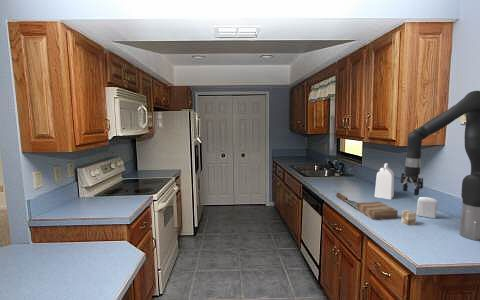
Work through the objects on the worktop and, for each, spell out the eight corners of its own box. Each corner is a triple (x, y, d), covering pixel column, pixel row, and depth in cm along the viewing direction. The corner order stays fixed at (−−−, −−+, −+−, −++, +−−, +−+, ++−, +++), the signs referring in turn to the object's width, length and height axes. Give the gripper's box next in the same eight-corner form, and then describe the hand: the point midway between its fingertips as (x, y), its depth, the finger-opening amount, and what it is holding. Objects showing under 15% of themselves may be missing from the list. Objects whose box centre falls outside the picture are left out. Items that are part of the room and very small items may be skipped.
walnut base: (397, 218, 171) (397, 210, 170) (373, 219, 169) (373, 211, 168) (378, 208, 189) (378, 201, 188) (356, 209, 186) (357, 202, 186)
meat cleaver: (372, 210, 186) (372, 205, 185) (356, 211, 185) (356, 205, 184) (348, 197, 219) (349, 192, 219) (335, 197, 218) (335, 192, 218)
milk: (390, 199, 209) (393, 165, 206) (374, 196, 216) (376, 164, 213) (393, 195, 219) (395, 163, 216) (377, 193, 226) (379, 161, 223)
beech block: (415, 224, 161) (416, 213, 160) (407, 225, 161) (408, 213, 160) (408, 221, 166) (409, 210, 165) (401, 221, 165) (402, 210, 165)
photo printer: (435, 216, 173) (437, 197, 172) (436, 219, 170) (438, 199, 168) (416, 214, 178) (417, 195, 177) (416, 216, 175) (417, 197, 173)
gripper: (428, 167, 153) (426, 196, 155) (409, 163, 167) (407, 189, 169) (416, 168, 152) (414, 197, 154) (398, 163, 166) (396, 190, 168)
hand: (410, 193), depth 161 cm, fingers open, 8 cm apart
